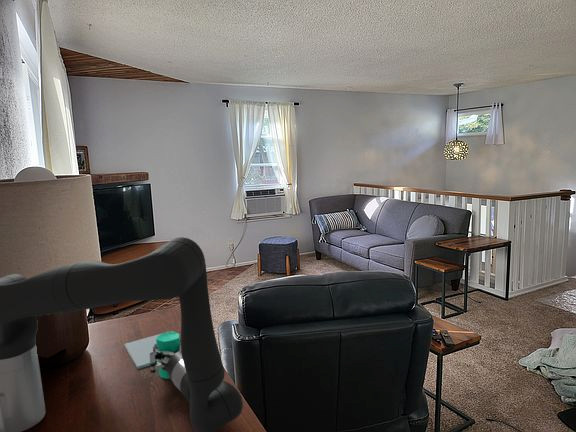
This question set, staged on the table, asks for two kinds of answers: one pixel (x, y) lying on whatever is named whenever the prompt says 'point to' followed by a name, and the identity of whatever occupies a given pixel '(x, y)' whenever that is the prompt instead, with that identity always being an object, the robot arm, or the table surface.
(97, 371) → the table surface
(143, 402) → the table surface
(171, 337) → the candle
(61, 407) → the table surface
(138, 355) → the tile
